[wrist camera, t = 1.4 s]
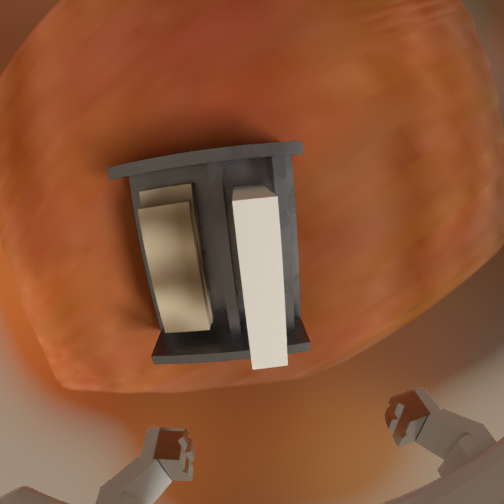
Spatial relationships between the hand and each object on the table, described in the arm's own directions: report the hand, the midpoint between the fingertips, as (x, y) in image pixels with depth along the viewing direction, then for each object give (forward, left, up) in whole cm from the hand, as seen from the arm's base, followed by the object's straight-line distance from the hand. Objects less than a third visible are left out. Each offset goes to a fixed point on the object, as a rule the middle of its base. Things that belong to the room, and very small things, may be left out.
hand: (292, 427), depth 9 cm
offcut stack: (0, -8, -24) cm, 25 cm away
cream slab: (0, 0, -24) cm, 24 cm away
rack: (0, -4, -25) cm, 26 cm away
